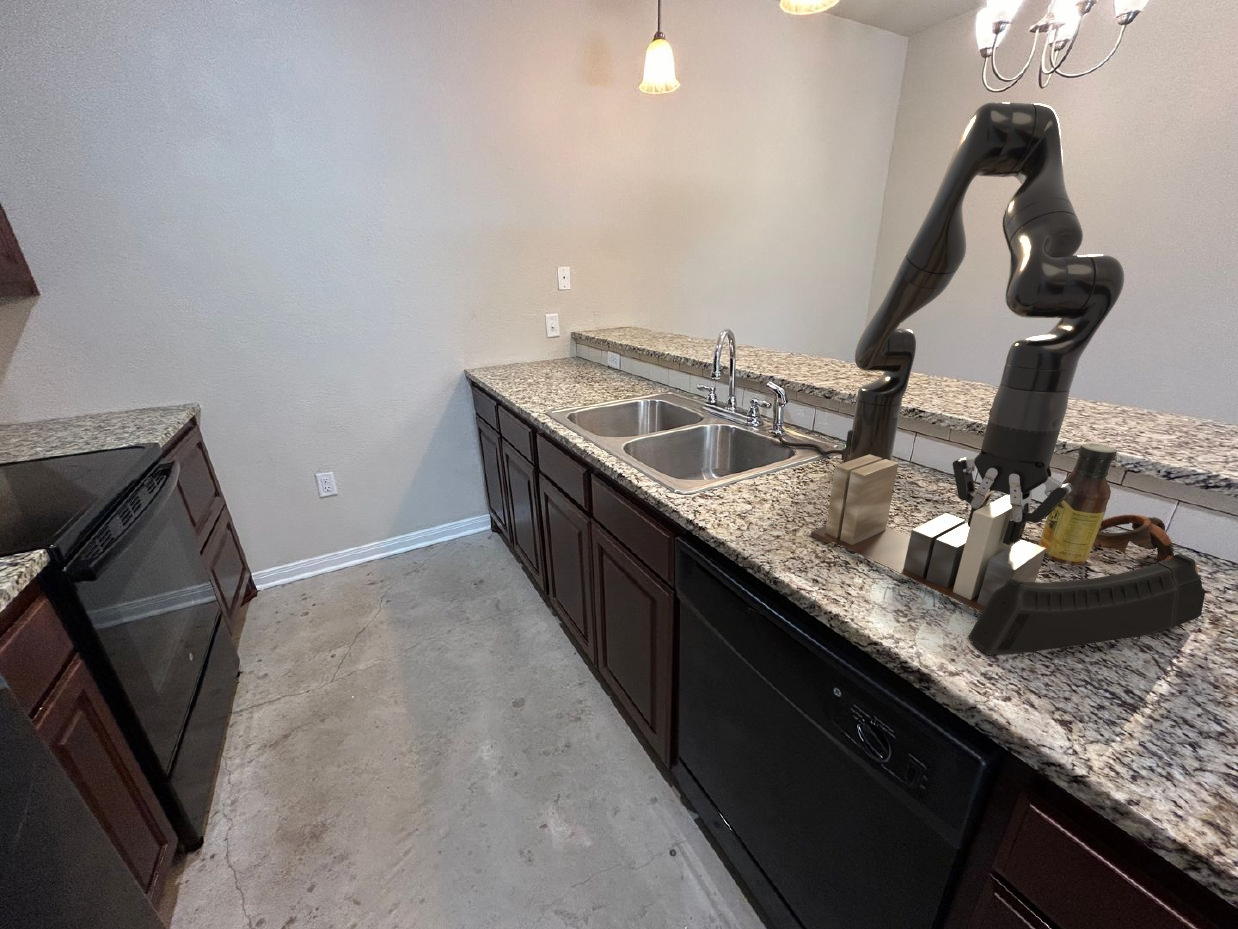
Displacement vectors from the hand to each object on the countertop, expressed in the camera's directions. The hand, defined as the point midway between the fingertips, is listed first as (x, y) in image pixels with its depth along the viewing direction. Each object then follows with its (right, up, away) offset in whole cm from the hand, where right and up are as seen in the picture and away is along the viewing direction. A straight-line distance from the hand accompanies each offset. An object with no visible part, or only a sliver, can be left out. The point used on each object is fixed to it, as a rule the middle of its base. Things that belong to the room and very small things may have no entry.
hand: (991, 536), depth 71 cm
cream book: (0, -8, +3) cm, 8 cm away
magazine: (+6, -13, -7) cm, 16 cm away
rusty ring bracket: (+31, -5, +11) cm, 34 cm away
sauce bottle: (+19, -6, +11) cm, 22 cm away
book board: (-5, -6, +10) cm, 13 cm away
